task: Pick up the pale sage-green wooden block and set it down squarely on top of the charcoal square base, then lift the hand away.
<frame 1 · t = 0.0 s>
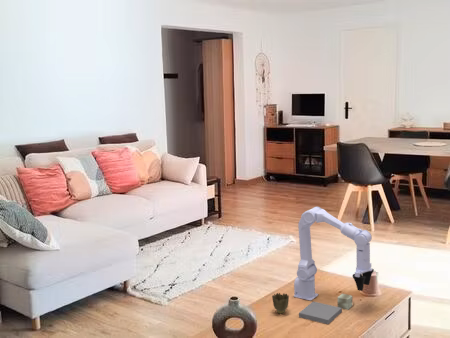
hand: (363, 287, 232), 10 cm above the table, tool pointing down, fingers open, 7 cm apart
cup: (281, 313, 234), on the table
charcoal base: (320, 314, 230), on the table
sage block: (345, 306, 237), on the table
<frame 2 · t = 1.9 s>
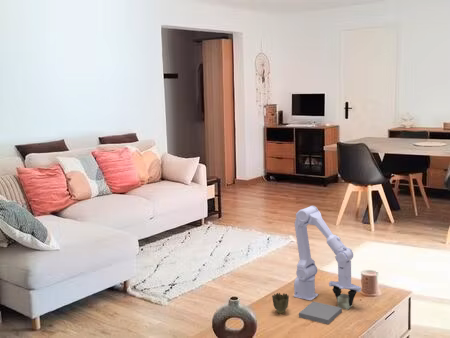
hand: (345, 303, 237), 1 cm above the table, tool pointing down, fingers closed on sage block, 5 cm apart
sage block: (345, 306, 237), on the table, touching gripper
everything else where it was.
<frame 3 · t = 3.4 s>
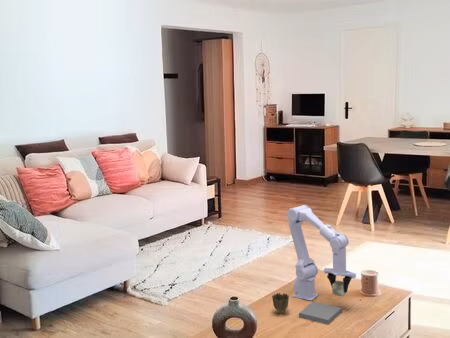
hand: (339, 290, 234), 8 cm above the table, tool pointing down, fingers closed on sage block, 5 cm apart
sage block: (339, 293, 235), point 7 cm above the table, touching gripper
everything else where it was.
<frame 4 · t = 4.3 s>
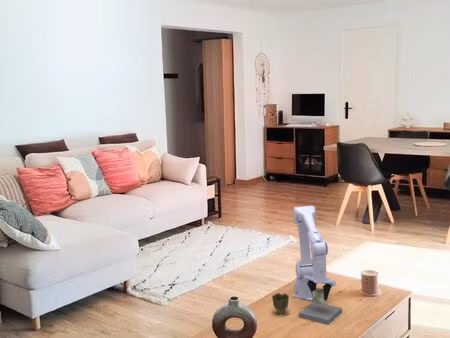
hand: (320, 298, 229), 8 cm above the table, tool pointing down, fingers closed on sage block, 5 cm apart
sage block: (320, 301, 229), point 6 cm above the table, touching gripper
everything else where it was.
when the fingers open (5 cm above the table, at t = 5.2 s): sage block drops 1 cm, resting on charcoal base.
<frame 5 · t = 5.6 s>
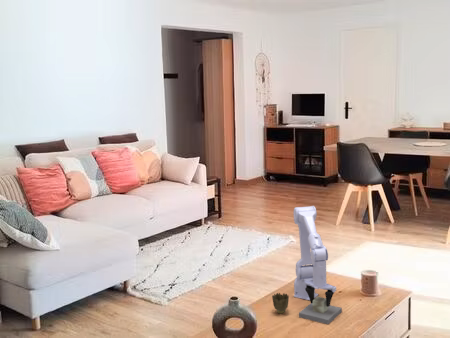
hand: (320, 304, 229), 5 cm above the table, tool pointing down, fingers open, 7 cm apart
sage block: (320, 310, 230), point 2 cm above the table, touching charcoal base
everything else where it was.
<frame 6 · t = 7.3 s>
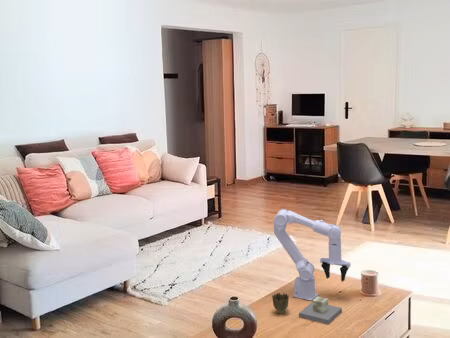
hand: (335, 279, 245), 9 cm above the table, tool pointing down, fingers open, 7 cm apart
nothing on the table moved.
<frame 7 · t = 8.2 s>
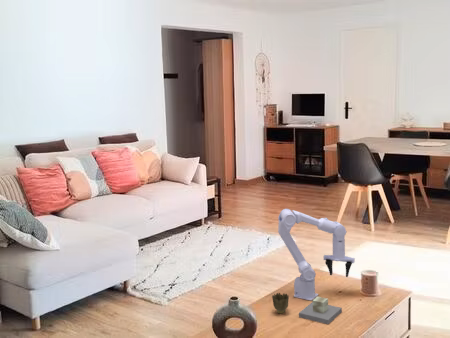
hand: (339, 275, 250), 9 cm above the table, tool pointing down, fingers open, 7 cm apart
nothing on the table moved.
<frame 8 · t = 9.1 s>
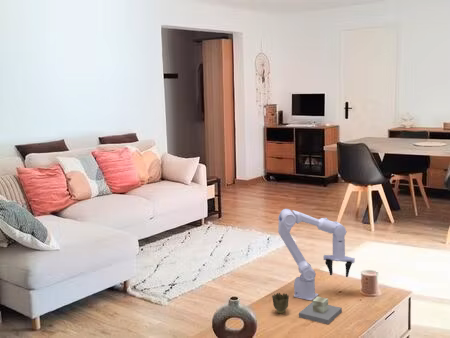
hand: (339, 275, 250), 9 cm above the table, tool pointing down, fingers open, 7 cm apart
nothing on the table moved.
at the end: sage block inside the target area on the charcoal base (0.1 cm from its centre), point 2.0 cm above the charcoal base's base; sage block tilted 0°; the gripper is holding nothing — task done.
